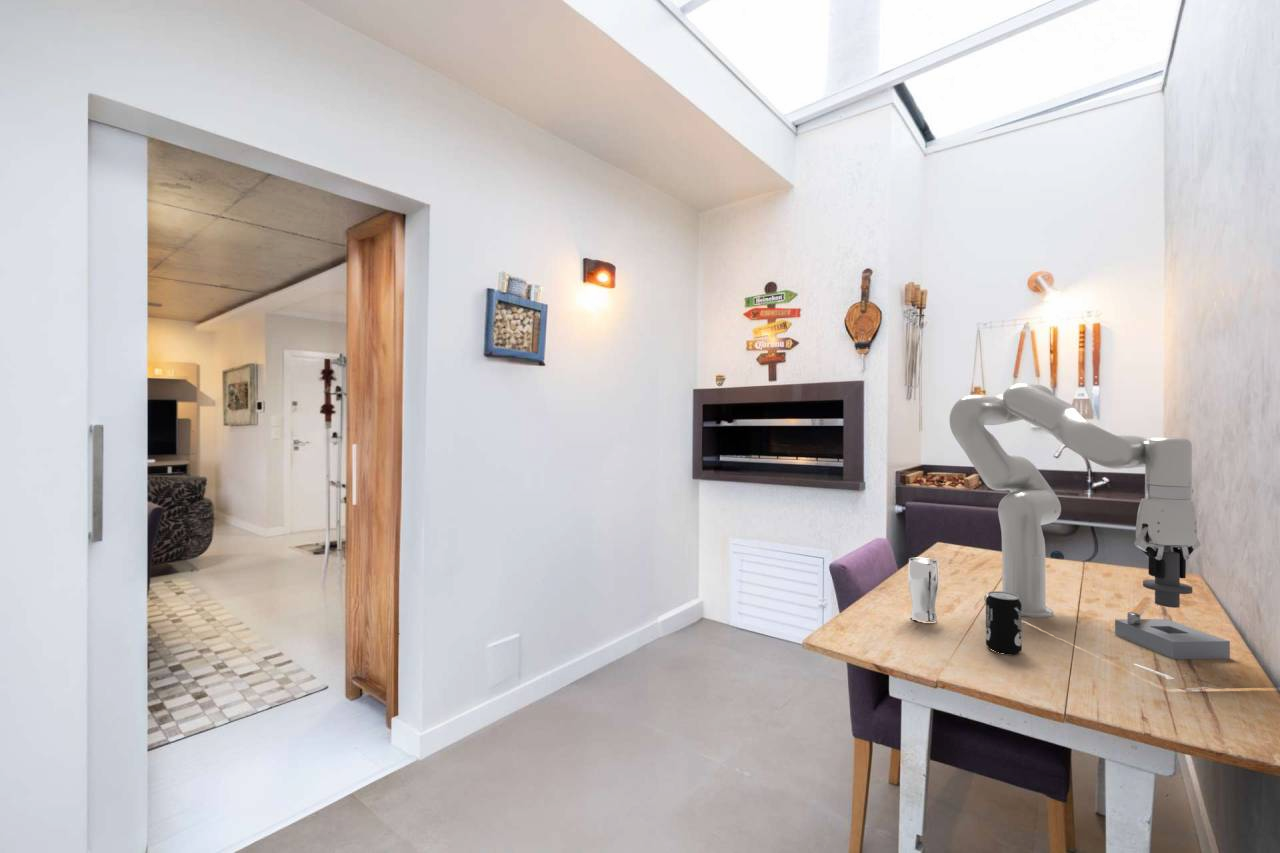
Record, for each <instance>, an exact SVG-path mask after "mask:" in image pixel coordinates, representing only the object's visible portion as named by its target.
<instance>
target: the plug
mask: <svg viewBox="0 0 1280 853" xmlns="http://www.w3.org/2000/svg"><path fill="white" fill-rule="evenodd" d="M1161 560H1164V561H1165V577H1164V578H1157V577H1154V579H1144V580H1143V579H1142V586H1143V587H1144V588H1146V589H1149V590H1152V591H1154V604H1155V605H1157V606H1160V607H1165V608H1166V607H1167V608H1177V609H1178V608H1180V607H1181V606H1180V602H1181V601H1180V600H1181V599H1180V595H1189V594H1193V586H1191V585H1188V584H1185V583H1181V582H1180V580H1181V578H1180V554H1179V553H1176V552H1171V550H1170V551H1169V550H1163V555H1162V559H1161Z"/></svg>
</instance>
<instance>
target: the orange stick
mask: <svg viewBox="0 0 1280 853" xmlns="http://www.w3.org/2000/svg"><path fill="white" fill-rule="evenodd" d="M1151 604H1152V598H1151V597H1148V596H1145V597H1143V599H1142V600H1141V601H1140V602H1139V603H1138V604H1137V605H1136V606H1135V608H1133V609H1132V610H1131V612H1126V613H1127V614H1126V615H1127V618H1126V619H1128V623H1129V624H1132V625H1140V619H1141V616H1142V615H1143V614H1144V612H1146V611H1147V609H1148V607H1149V606H1151Z"/></svg>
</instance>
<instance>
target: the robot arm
mask: <svg viewBox="0 0 1280 853" xmlns="http://www.w3.org/2000/svg"><path fill="white" fill-rule="evenodd" d="M1018 421H1025V422H1027V423H1029V424H1030V425H1033V426H1035V427H1037V428H1039V429H1041V430H1043V431H1045V432H1046V433H1048V434H1050V435H1052V436H1053V437H1054V438H1055V439H1056V440H1057V441H1058V442H1060V443H1061V444H1063V446H1065V447H1066V448H1068V449H1070V450H1071V451H1073V452H1074V453H1076V454H1077V455H1079V456H1082V457H1083V458H1085V459H1087V460H1089V461H1091V462H1093V463H1095V464H1097V465H1098V466H1101V467H1104V468H1108V469H1113V470H1115V469H1116V470H1117V469H1118V470H1119V469H1133V468H1144V469H1145V470H1144V472H1145V473H1144V474H1145V475H1144V483H1145V484H1144V498H1141V500H1140V502H1139V506H1138V510H1137V515H1136V524H1135V538H1136V539H1135V541H1134V542H1133V544H1134V546H1135V547H1136V548H1138V549H1140V550H1141V551H1142V553H1143V554H1145V557H1146V558H1148V575H1149V576H1152V577H1154V578H1155V577H1157V578H1164V577H1165V561H1164V560H1161V559H1162V555H1163V551H1165V547H1170V551H1171V552H1176V553H1179V554H1180V579H1186V578H1187V572H1186V571H1187V567H1186V566H1187V565H1186V563H1187V561H1188V560H1189V559H1190V555H1191V554H1192V553H1193V552H1194V551H1195V550H1197V549H1198V548H1199V547H1201V546H1202V545H1201V543H1200V542H1201V541H1199V539H1198V524H1197V522H1198V521H1197V513H1196V509H1195V504H1194V500H1192V496H1193V494H1194V491H1195V490H1194V489H1193V488H1192V481H1193V480H1192V476H1193V444H1192V441H1191V440H1189V439H1188V438H1186V437H1171V436H1170V437H1165V436H1164V437H1157V436H1156V437H1146V436H1145V437H1144V436H1137V435H1117V434H1113V433H1111V432H1109V431H1107V430H1105V429H1102V428H1101V427H1099V426H1097V425H1095V424H1093V423H1091V422H1089V421H1088V420H1086V419H1085V418H1084V417H1083V416H1082V415H1081V411H1080V409H1079V408H1078V407H1077V406H1075V405H1073V404H1072V403H1069V402H1067V401H1064V400H1062V399H1061V398H1059V397H1056V396H1055V395H1054V392H1053V391H1052V390H1051V389H1050V388H1048V387H1047V386H1045V385H1042V384H1036V383H1035V384H1034V383H1022V382H1021V383H1016V384H1013V385H1011V386H1009V387H1008V388H1006V390H1004V392H1003V393H1002V394H998V395H986V394H971V395H966V396H963V397H961V398H960V399H958V400H957V401H956V402H955V403H954V405H953V407H952V409H951V410H950V414H949V427H950V430H951V432H952V433H951V434H952V435H953V437H954V439H955V440H956V441H957V443H958V444H959V445H960V448H962V450H963V451H964V453H965V455H966V456H967V458H968V460H969V461H970V463H971V464H972V466H973V467H974V469H975V470H976V472H977V473H978V475H979V477H980V478H981V480H982V482H984V484H985V485H986V487H988V488H989V489H991V490H994V491H1000V492H1001V491H1005V492H1006V491H1009V493H1008V494H1006V495H1005V496H1003V498H1001V500H1000V502H999V504H998V508H997V514H998V519H999V525H1000V531H1001V563H1002V564H1001V568H1002V569H1001V576H1002V577H1001V578H1002V579H1001V590H999V591H1000V592H1008V593H1012V594H1015V595H1017V596H1019V601H1020V602H1021V604H1022V616H1023V618H1030V617H1031V618H1051V617H1053V616H1054V611H1053V609H1052V607H1049V606H1047V604H1046V603H1047V601H1046V600H1047V598H1046V597H1047V595H1046V592H1047V590H1046V589H1047V588H1046V580H1047V579H1046V578H1047V577H1046V543H1045V541H1046V540H1045V536H1044V533H1043V529H1042V526H1044V525H1049V524H1052V523H1054V522H1055V521H1057V519H1059V517H1060V516H1061V512H1062V506H1061V502H1060V500H1059V498H1058V496H1057V495H1056V492H1054V490H1053V488H1052V487H1051V486H1050V485H1049V483H1048V482H1047V480H1046V479H1045V478H1044V476H1043V475H1042V473H1041V472H1040V471H1039V470H1038V468H1037V467H1036V465H1035V464H1034V463H1032V462H1031V460H1029V459H1027V458H1025V457H1023V456H1020V455H1009V454H1008V453H1007V452H1006V451H1005V449H1003V447H1002V446H1001V444H1000V443H999V441H998V440H997V438H996V437H995V436H994V435H993V434H992V433H991V432H990V431H989V430H988V429H987V428H986V427H985V426H997V425H1004V424H1009V423H1014V422H1018ZM987 597H988V594H987V595H986V594H985V595H984V597H983V600H984V602H985V603H986V598H987Z"/></svg>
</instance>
